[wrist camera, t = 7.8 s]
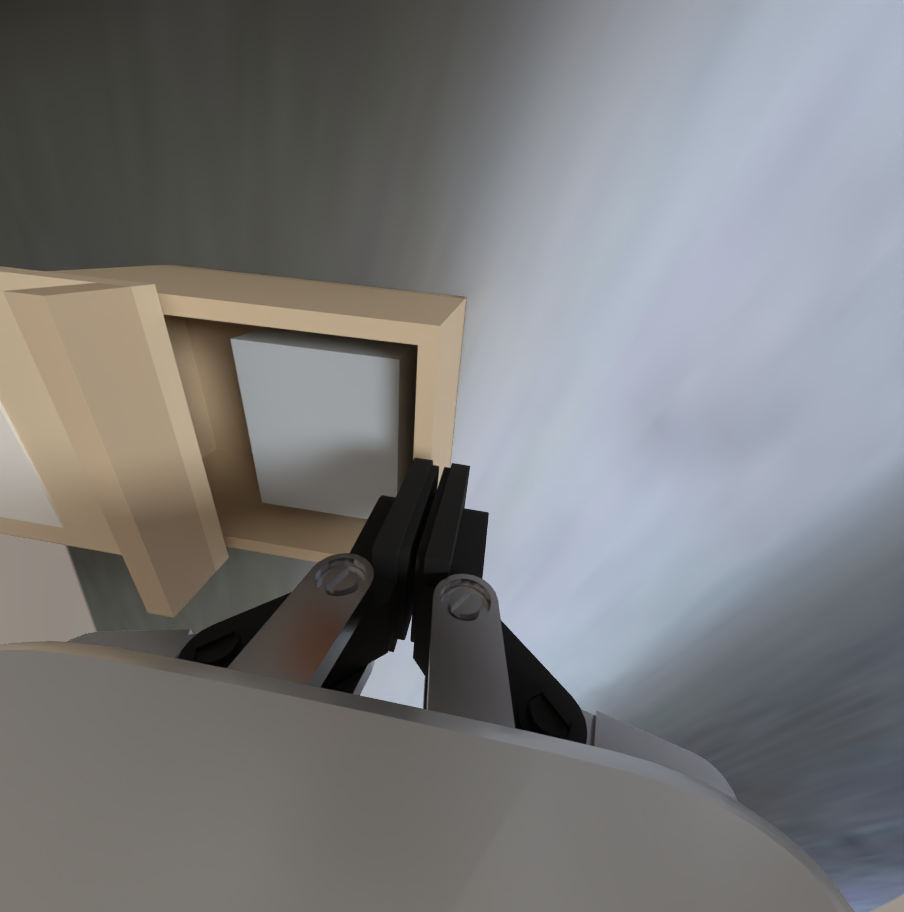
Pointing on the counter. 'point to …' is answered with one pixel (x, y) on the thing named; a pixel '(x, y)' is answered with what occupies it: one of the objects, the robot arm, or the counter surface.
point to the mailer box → (307, 396)
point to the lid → (102, 432)
